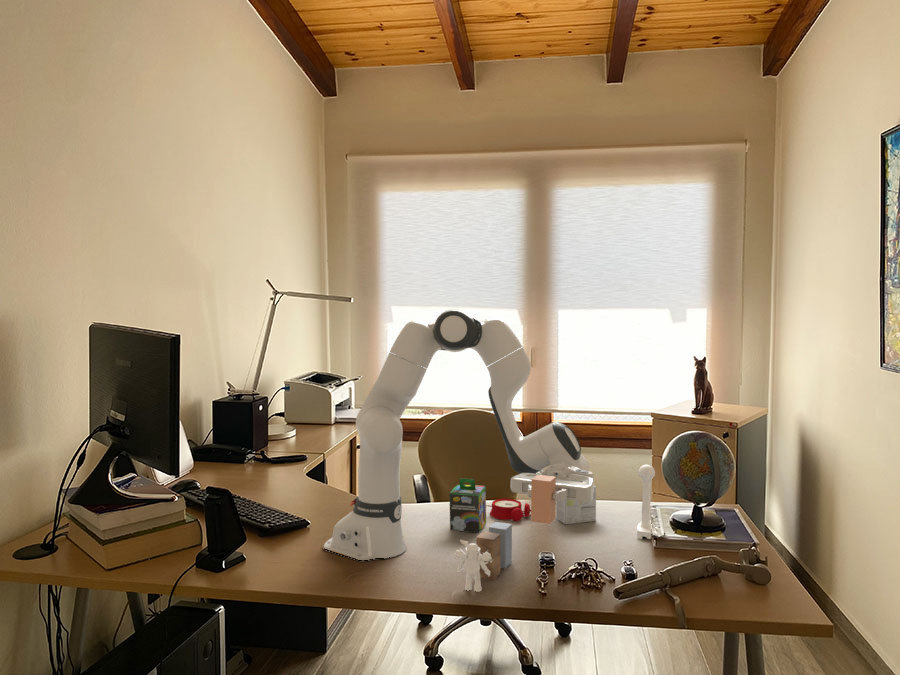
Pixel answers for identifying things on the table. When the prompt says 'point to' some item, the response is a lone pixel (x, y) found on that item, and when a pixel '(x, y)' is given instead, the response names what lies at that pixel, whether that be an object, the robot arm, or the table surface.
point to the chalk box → (467, 507)
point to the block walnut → (493, 546)
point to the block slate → (503, 541)
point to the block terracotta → (543, 499)
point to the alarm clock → (509, 509)
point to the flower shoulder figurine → (472, 564)
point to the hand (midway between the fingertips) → (542, 495)
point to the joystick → (645, 502)
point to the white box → (576, 510)
